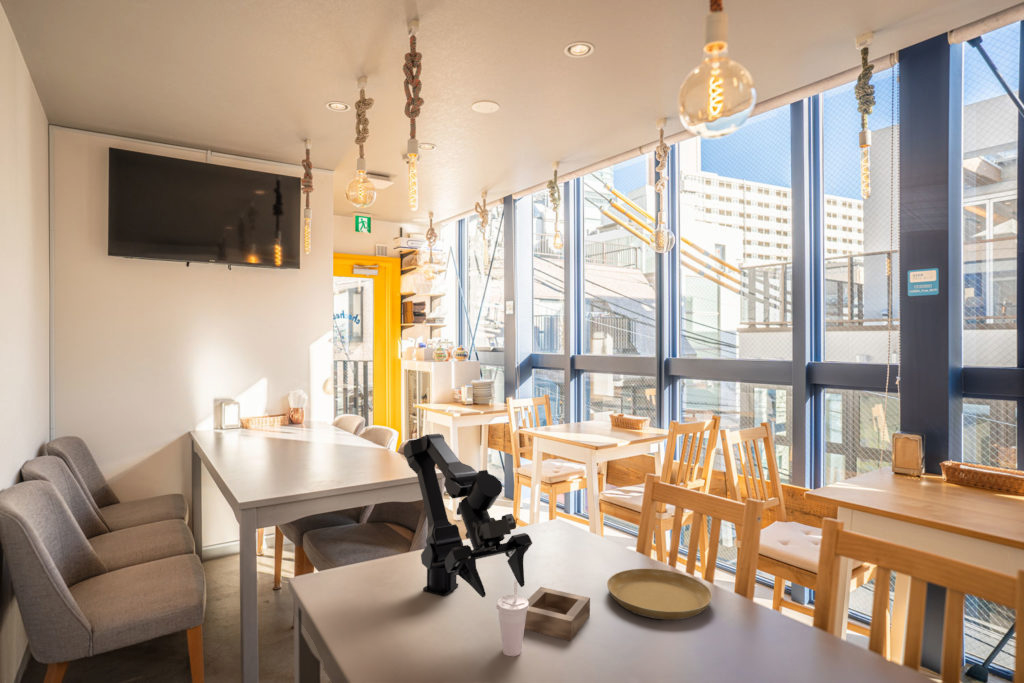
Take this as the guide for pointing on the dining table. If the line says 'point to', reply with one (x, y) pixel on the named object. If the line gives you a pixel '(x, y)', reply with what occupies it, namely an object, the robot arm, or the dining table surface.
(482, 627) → the dining table surface
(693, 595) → the plant saucer
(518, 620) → the smoothie
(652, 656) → the dining table surface
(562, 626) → the caddy
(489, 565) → the dining table surface
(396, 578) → the dining table surface
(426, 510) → the robot arm
